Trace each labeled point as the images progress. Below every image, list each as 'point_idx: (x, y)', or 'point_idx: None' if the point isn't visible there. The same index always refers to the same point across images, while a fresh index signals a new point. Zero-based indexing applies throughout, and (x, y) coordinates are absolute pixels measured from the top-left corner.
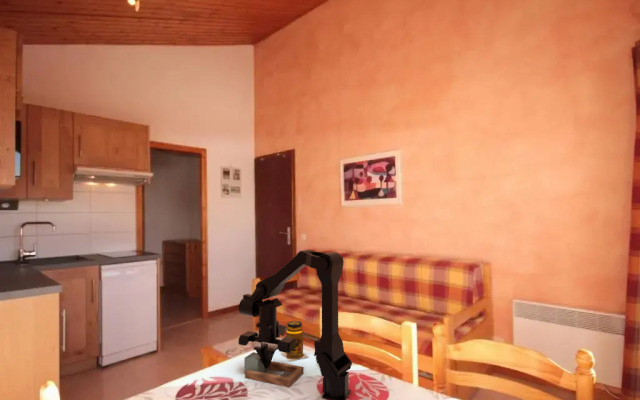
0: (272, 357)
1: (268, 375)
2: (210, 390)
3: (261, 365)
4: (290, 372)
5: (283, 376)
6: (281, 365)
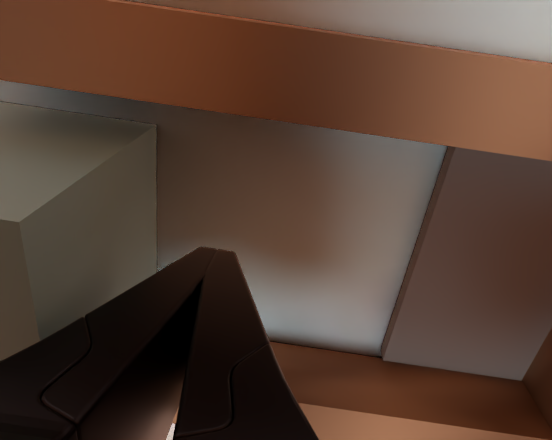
0: (271, 353)
1: (325, 435)
2: None
3: (117, 287)
4: (550, 165)
5: (464, 285)
6: (408, 136)
